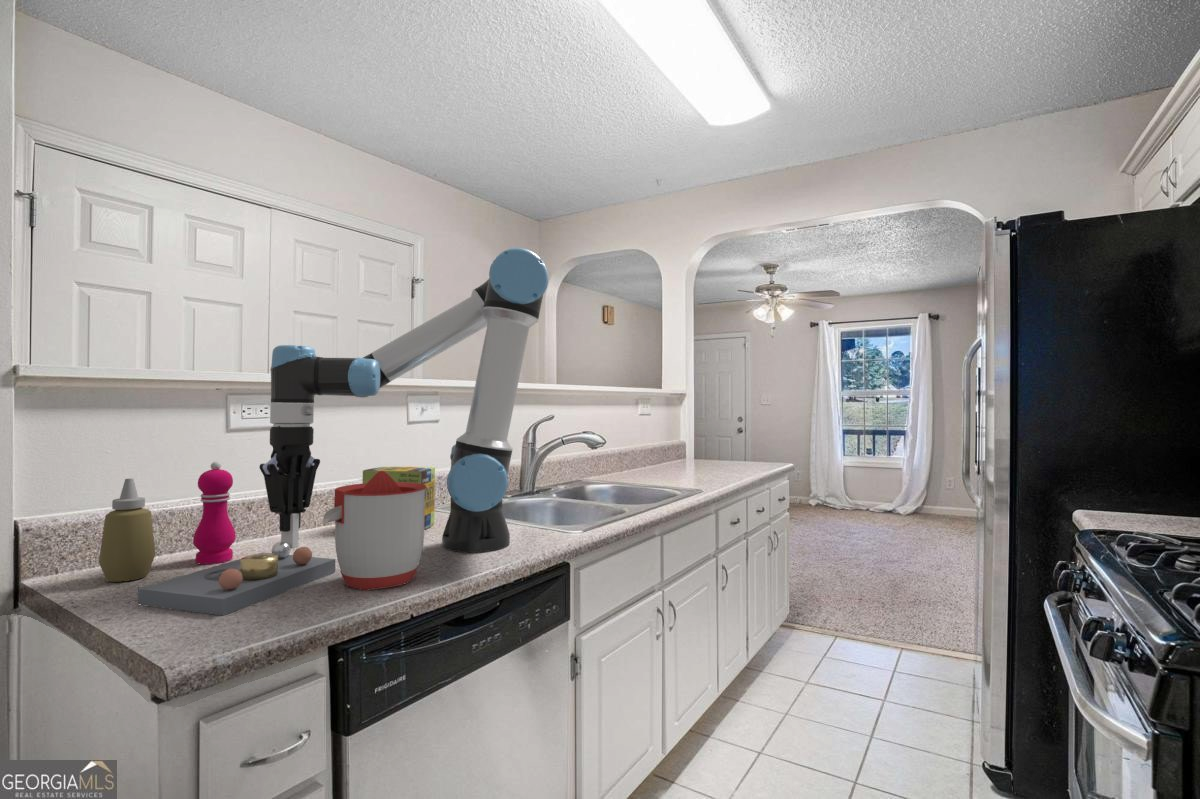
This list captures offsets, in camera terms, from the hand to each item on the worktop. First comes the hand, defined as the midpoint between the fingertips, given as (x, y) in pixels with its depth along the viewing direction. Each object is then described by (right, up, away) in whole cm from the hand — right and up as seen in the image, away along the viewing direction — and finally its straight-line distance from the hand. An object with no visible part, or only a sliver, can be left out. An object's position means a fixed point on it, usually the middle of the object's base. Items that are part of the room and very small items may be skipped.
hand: (289, 547), depth 113 cm
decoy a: (+6, 0, -6) cm, 9 cm away
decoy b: (+2, 0, -21) cm, 21 cm away
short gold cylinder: (+2, -1, -14) cm, 14 cm away
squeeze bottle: (-26, -4, -7) cm, 27 cm away
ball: (0, 0, -2) cm, 2 cm away
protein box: (+8, -5, +37) cm, 39 cm away
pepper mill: (-18, -4, +5) cm, 19 cm away
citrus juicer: (+20, -4, -8) cm, 22 cm away
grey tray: (-1, -4, -12) cm, 13 cm away
